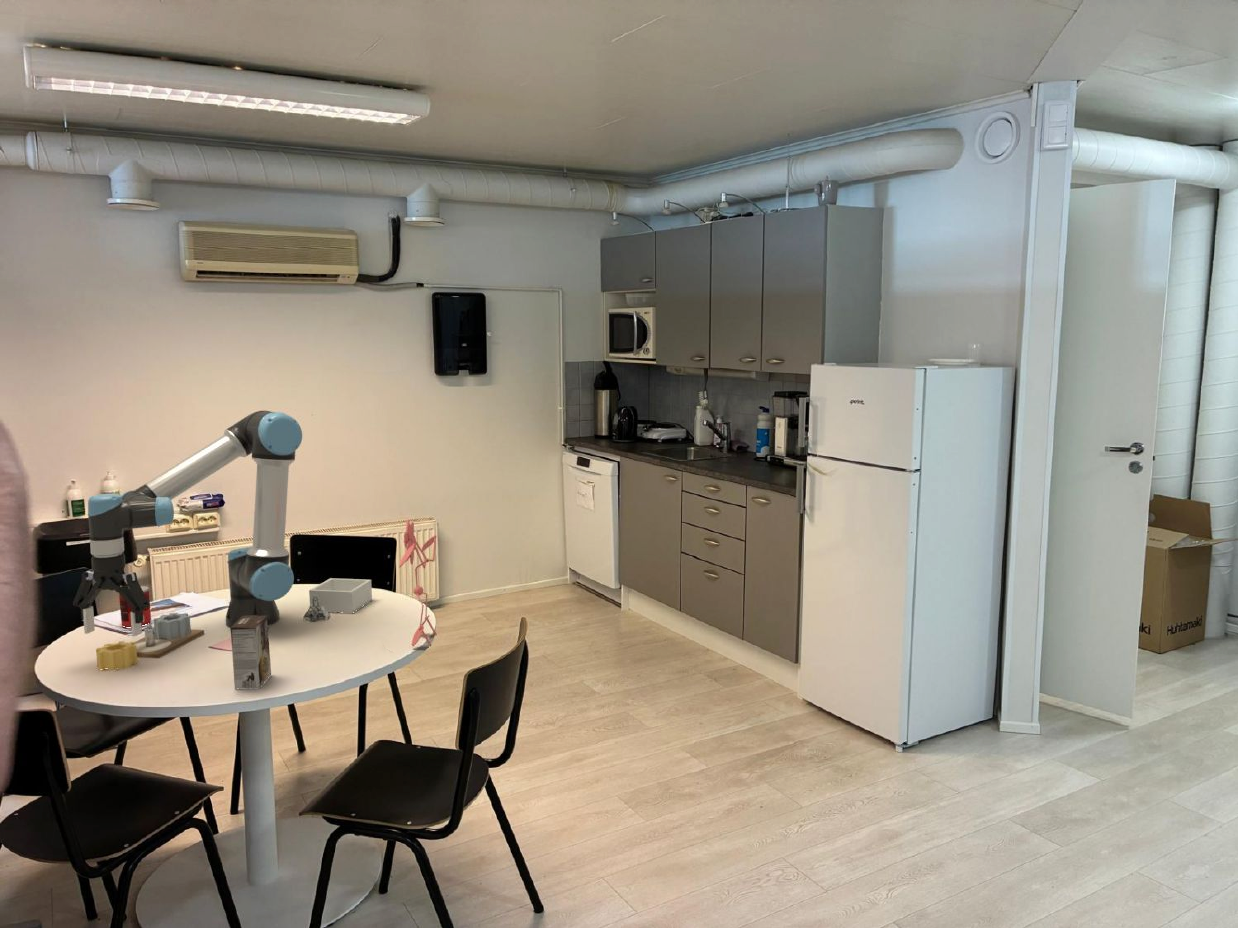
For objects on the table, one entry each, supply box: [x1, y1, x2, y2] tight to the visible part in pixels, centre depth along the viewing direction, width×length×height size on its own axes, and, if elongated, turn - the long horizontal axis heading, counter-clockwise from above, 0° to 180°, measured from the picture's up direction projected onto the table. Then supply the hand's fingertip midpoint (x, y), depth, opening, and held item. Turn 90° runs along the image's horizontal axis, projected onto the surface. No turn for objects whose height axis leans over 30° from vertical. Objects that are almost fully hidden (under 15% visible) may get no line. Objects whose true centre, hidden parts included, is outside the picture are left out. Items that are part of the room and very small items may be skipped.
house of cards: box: [303, 596, 331, 622], centre depth 265 cm, size 9×9×8 cm
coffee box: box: [230, 615, 272, 690], centre depth 216 cm, size 9×6×16 cm
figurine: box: [398, 519, 443, 647], centre depth 245 cm, size 15×26×35 cm, turn 2°
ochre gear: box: [95, 640, 138, 671], centre depth 229 cm, size 9×9×5 cm
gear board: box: [134, 629, 205, 659], centre depth 245 cm, size 13×20×1 cm, turn 172°
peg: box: [144, 623, 156, 647], centre depth 240 cm, size 2×2×6 cm
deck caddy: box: [308, 577, 373, 614], centre depth 280 cm, size 14×14×7 cm
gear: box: [153, 612, 192, 640], centre depth 250 cm, size 9×9×6 cm
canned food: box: [118, 585, 152, 627], centre depth 262 cm, size 8×8×11 cm
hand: (113, 633), depth 228 cm, fingers open, 13 cm apart
